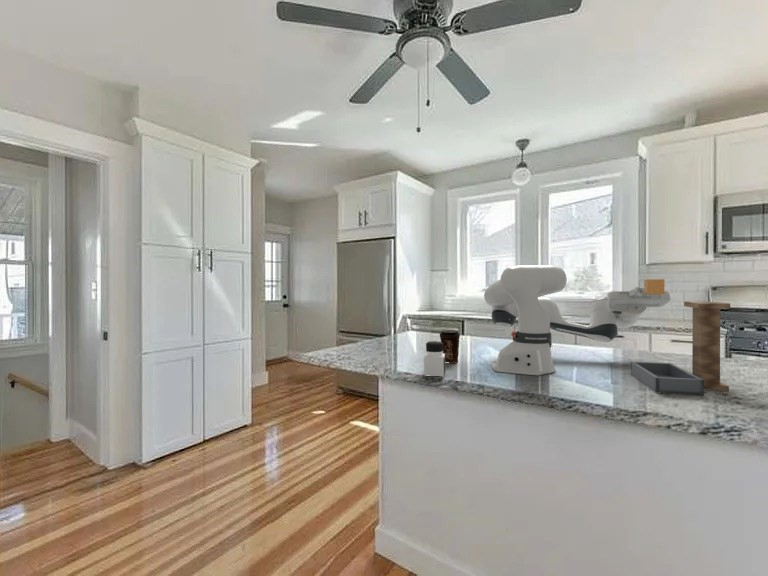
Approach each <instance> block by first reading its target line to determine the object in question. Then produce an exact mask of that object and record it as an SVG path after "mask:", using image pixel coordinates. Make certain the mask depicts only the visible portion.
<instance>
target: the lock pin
mask: <svg viewBox="0 0 768 576" xmlns="http://www.w3.org/2000/svg"><path fill="white" fill-rule="evenodd" d="M643 280H644V281H643V282H644V283H643V286H640V289H641V292H640V293H644V294H664V291H665V285H666V284H665V278H663V279H660V278H659V279H658V278H653V279H645V278H643Z"/></svg>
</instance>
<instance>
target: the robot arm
mask: <svg viewBox="0 0 768 576" xmlns="http://www.w3.org/2000/svg"><path fill="white" fill-rule="evenodd" d="M567 279H568V278H567V275H566V272H565V271H564V270H563V268H561V267H558V266H554V265H549V264H540V265H539V264H535V265H533V264H532V265H531V264H530V265H527V264H525V265H524V264H522V265H520V264H519V265H513V266H510V267H507V268H505V269H504V270H503V271H502V273H501V275H500V279H498V280H497V281H494V282H493V283H492V284H490V285H489V286H488V287H487V288H486V290H485V291H484V294H483V298H484V300H485V303H486V304H488V306H491V320H492V323H493V324H494V325H495V326H498V327H499V328H500V327H501V328H509V327H513V326H514V325H515V323H516V321H517V322H518V323H517V324H518V327H517V328H518V329H517V330H518V331H515V330H512V331H511V332H510V335H511V336H512V341H511V342H510V343H508V344H507V345H506V346H504V347H503V348H502V349H500V350H499V353H498V355H497V360H496V361H495V362H493V363H492V364H491V370H493V371H495V372H497V373H506V374H508V373H509V374H520V375H528V376H542V375H545V374H551V373H554V372H556V368H555V365H554V361H553V357H552V344H553V342H552V340H553V337H552V332H551V330H553V331H556V332H560V333H565V334H569V335H574V336H579V337H582V338H583V337H584V338H588V339H591V340H594V341H597V342H603V343H608V342H612V341H613V340H614V339H616V337H617V336H618V334H619V332H618V329H620V330H625V329H629V328H631V327H633V326H634V325H635V324H636V323H637V322H638V320H639V318H640V317H642V315H643V313H644V312H645V311H646V309H647V308H662V307H664V306H665V305H666V304H668V303H669V302H670V301H671V294H670V292H669V291H667V290H664V294H644V293H640V292H641V289H640V287H641V286H640V287H639V286H637V287H636V286H635V287H634V289H631V290H625V291H624V290H621V291H619V290H612V291H609V292H608V293H607V296H603V297H598V298H596V299H594V300H593V301H591V303H590V304H589V324H588V325H587V324H581V323H576V322H571V321H570V322H569V321H567V320H566V319H565V318H564V317H563V315H562V314H561V311H560V308H559V306H558V304H557V302H555V300H554V299H552V298H549V297H545V296H548V295H551V294H556V293H559V292H562V291H563V290H564V289H565V287H566V285H567ZM543 296H544V297H543Z"/></svg>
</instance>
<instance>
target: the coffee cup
mask: <svg viewBox="0 0 768 576" xmlns="http://www.w3.org/2000/svg"><path fill="white" fill-rule="evenodd" d="M460 334H461V333H459V330H456V329H446V330H445V329H442V330H441V331H440V333H439V339H440V342H442V343H443V353H444V354H445V362H449V363H455V364H457V363H458V362H459V355H460V354H459V350H460V337H461V335H460ZM456 362H457V363H456Z"/></svg>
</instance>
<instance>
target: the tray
mask: <svg viewBox="0 0 768 576" xmlns="http://www.w3.org/2000/svg"><path fill="white" fill-rule="evenodd" d="M630 375H631V376H632V377H633V378H634V379H636V380H638V381H639V382H640V381H641V382H640V383H641V384H643V383H644V384H645V385H644V384H643V385H644V386H646V387H647V386H648V387H649V388H648V387H647V388H648V389H650V390H651V389H652V390H653V391H652V390H651V391H652V392H654V391H655V392H660V393H659V394H667V393H671V394H670V395H685V396H686V395H689V396H702V397H703V396H705V390H704V380H703V379H701V378H699V377H697V376H695V375H693V374H692V373H691V372H689V371H687V370H685V369H684V368H682V367H679V366H677V365H676V364H673V363H672V362H669V363H668V362H650V361H649V362H648V361H647V362H645V361H644V362H643V361H642V362H641V361H630ZM655 392H654V393H655Z"/></svg>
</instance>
